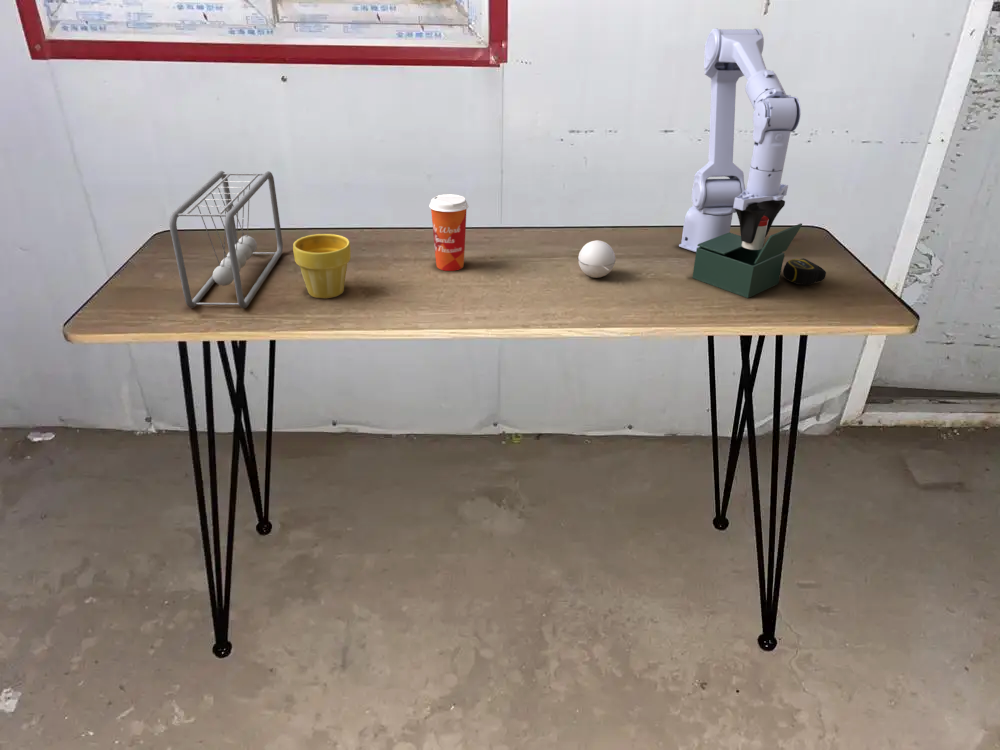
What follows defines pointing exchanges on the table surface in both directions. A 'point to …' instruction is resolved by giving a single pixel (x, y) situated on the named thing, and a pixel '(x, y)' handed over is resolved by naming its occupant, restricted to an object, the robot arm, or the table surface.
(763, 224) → the shaker
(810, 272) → the tape measure
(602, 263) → the seamed sphere
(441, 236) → the paper cup
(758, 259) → the flap
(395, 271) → the table surface
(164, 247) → the table surface
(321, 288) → the flower pot
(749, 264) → the carton
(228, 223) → the newton's cradle
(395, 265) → the table surface
